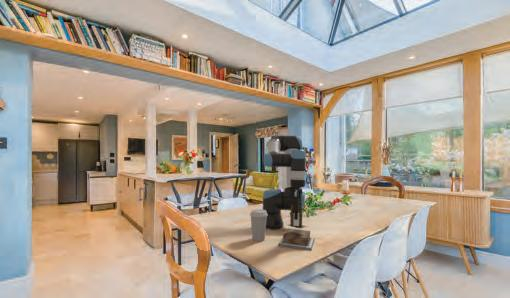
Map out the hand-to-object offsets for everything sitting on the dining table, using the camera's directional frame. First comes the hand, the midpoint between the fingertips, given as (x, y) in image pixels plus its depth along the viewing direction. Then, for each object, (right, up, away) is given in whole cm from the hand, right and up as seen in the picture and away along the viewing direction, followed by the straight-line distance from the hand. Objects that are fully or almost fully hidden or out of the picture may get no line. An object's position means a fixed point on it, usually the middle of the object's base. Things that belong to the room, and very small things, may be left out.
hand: (297, 223), depth 121 cm
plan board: (0, -10, 0) cm, 9 cm away
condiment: (0, -1, -1) cm, 1 cm away
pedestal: (0, -10, 0) cm, 9 cm away
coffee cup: (-20, -10, +3) cm, 22 cm away
